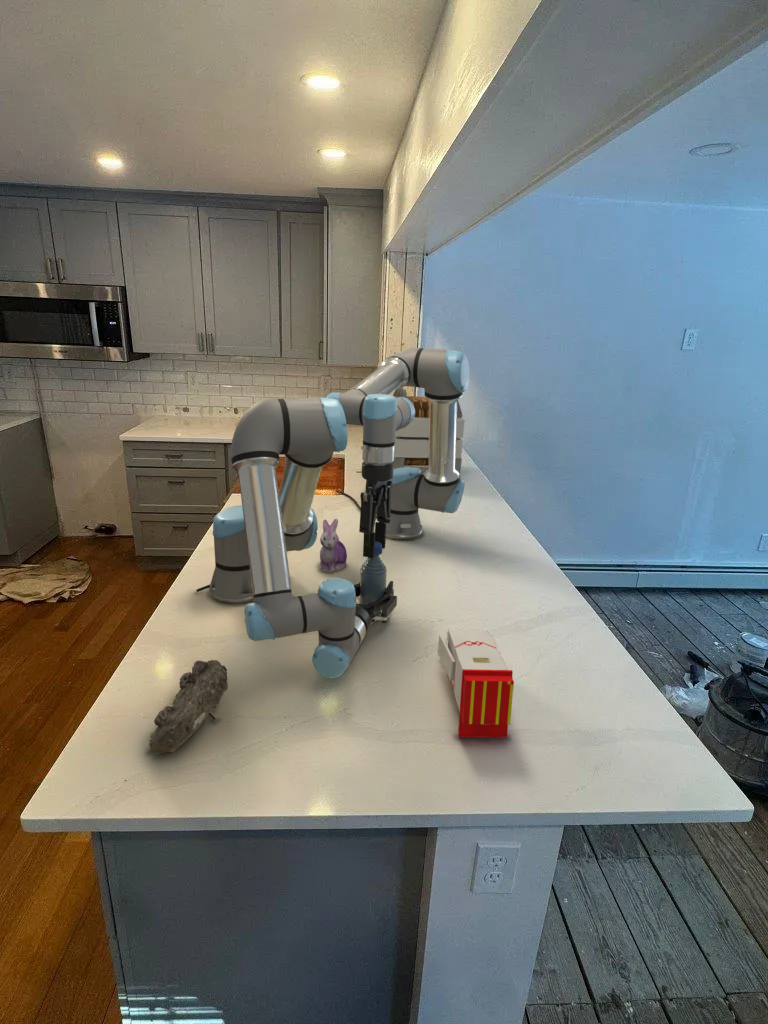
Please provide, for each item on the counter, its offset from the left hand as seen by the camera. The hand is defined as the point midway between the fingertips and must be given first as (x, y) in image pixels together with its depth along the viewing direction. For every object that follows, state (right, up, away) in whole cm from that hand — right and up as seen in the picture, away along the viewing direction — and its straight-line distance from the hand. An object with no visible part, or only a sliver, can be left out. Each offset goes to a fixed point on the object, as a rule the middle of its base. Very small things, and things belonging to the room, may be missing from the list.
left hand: (377, 583), depth 149 cm
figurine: (-14, +2, +23) cm, 27 cm away
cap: (-1, +11, -9) cm, 14 cm away
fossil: (-34, -20, -42) cm, 58 cm away
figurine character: (-3, +25, +87) cm, 90 cm away
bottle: (-2, -8, -2) cm, 8 cm away
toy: (+20, -19, -31) cm, 41 cm away
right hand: (-1, +9, -8) cm, 12 cm away
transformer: (+19, +38, +126) cm, 132 cm away
